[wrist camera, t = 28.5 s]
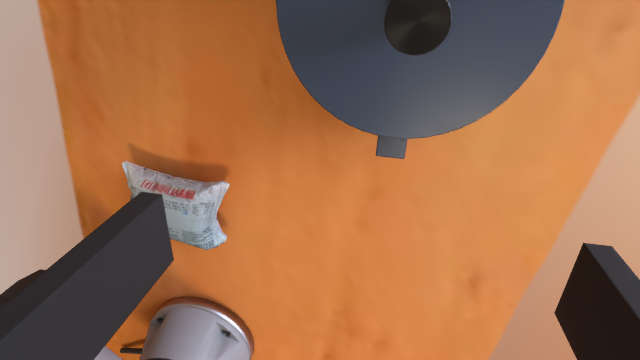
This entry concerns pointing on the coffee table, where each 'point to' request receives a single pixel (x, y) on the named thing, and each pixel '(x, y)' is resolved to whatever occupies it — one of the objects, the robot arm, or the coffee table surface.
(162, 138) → the coffee table surface
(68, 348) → the robot arm
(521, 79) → the lid
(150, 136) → the coffee table surface
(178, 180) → the packaged food
